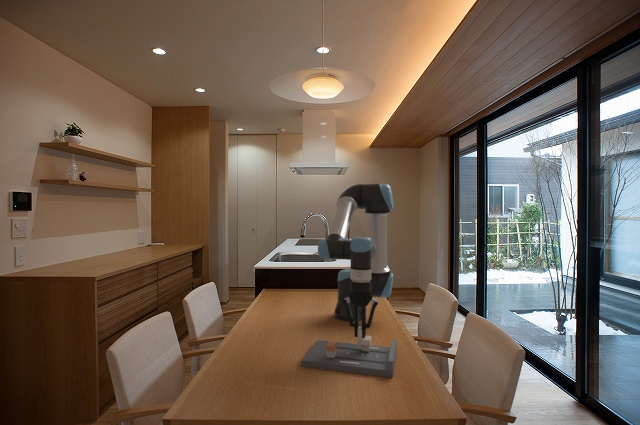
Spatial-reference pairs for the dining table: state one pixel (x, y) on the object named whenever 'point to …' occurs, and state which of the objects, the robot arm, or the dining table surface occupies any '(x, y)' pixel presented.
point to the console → (353, 358)
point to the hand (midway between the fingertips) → (360, 346)
